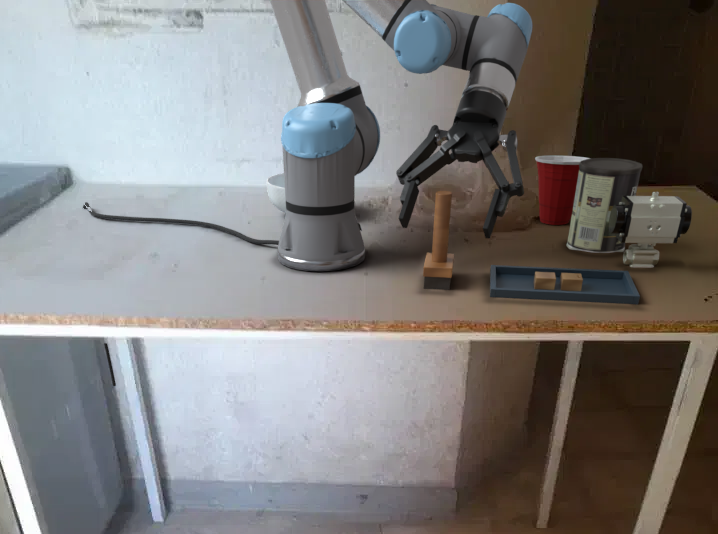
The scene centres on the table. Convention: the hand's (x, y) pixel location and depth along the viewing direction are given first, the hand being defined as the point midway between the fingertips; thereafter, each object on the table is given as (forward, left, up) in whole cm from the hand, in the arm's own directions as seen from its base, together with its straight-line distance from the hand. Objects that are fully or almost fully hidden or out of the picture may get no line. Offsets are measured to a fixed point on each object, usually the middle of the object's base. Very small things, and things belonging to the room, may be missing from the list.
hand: (443, 228), depth 112 cm
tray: (+19, 0, -9) cm, 21 cm away
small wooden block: (+20, 0, -8) cm, 22 cm away
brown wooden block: (+16, 0, -8) cm, 18 cm away
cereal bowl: (-29, +39, -9) cm, 49 cm away
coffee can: (+27, +24, -9) cm, 37 cm away
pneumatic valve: (+33, +13, -9) cm, 36 cm away
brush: (0, 0, -9) cm, 9 cm away
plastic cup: (+21, +41, -9) cm, 47 cm away
